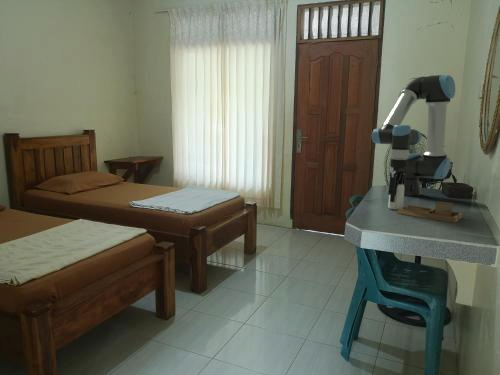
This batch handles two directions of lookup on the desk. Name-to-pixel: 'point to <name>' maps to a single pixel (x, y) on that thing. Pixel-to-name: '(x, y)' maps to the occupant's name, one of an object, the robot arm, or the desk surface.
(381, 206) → the desk surface
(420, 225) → the desk surface
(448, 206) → the walnut block
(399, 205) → the can
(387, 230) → the desk surface
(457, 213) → the caddy
